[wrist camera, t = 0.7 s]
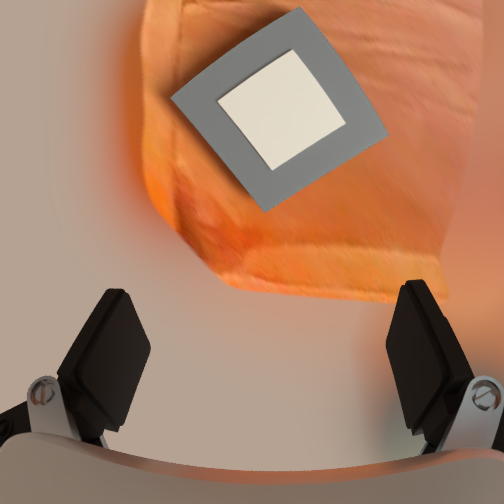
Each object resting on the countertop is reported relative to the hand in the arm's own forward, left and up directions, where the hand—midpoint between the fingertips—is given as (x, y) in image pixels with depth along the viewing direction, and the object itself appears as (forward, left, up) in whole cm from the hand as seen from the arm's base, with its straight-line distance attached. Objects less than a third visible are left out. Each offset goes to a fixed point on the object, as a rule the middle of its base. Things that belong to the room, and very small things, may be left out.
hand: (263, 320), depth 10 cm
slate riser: (-4, -3, -27) cm, 27 cm away
